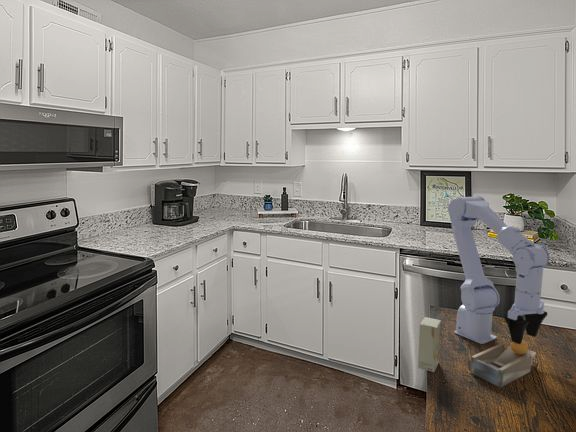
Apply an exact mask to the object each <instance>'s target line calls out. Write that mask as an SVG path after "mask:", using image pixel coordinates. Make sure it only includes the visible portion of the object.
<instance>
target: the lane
mask: <svg viewBox="0 0 576 432" xmlns="http://www.w3.org/2000/svg"><path fill="white" fill-rule="evenodd" d="M536 355H537V352H536V351H533V350H531V349H528V350H527V352H526V353H525V354H522V355H520V354H516V353H514V352H513V351H512V349H511V346H510V345H509V346H507V348H506V349H505V343H502V342H501V343H499V344H496V345H494V346H492V347H490V348H487V349H485V350H483V351H481V352H480V351H479V353H476V354H474V355H472V356H471V361H470V374H472V375H474V376H477V377H478V378H481V379H482V380H484V381H485V382H488V383H490V384H492V385H494V386H497V387H498V388H502V387H505V386H506V385H508V384H511V383H512V382H514V381H516V380H517V379H519V378H521V377H523V376H525V375H526V374H528V373H530V372H531V370H532V369H531V367H532V366H533V361H534V358H535V357H536Z"/></svg>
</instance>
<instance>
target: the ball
mask: <svg viewBox="0 0 576 432" xmlns="http://www.w3.org/2000/svg"><path fill="white" fill-rule="evenodd" d="M509 346H511V349H512V351H513V352H514V353H516V354H520V355H522V354H525V353H526V352H527V350H529V348H528V347H529V346H528V344H527V342H526V341H525V340H523V339H522V342H521V344H518V343H515V342H512V341H511V342H510V345H509Z"/></svg>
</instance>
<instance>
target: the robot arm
mask: <svg viewBox="0 0 576 432" xmlns="http://www.w3.org/2000/svg"><path fill="white" fill-rule="evenodd" d="M447 212H448V214H449V218H450V223H451V230H452V233H453V236H454V240H455V241H454V242H455V244H456V248H457V251H458V256H459V259H460V260H459V261H460V263H461V265H462V269H463V274H464V277H465V281H464V282H463V283H462V284H461V286H460V292H461V293H460V294H461V295H460V299H461V300H460V301H461V302H462V305H460V306H459V308H458V309H457V311H456V312H457V313H456V326H455V330H454V333H455V334H456V335H458V336H461V337H464V338H466V339H469V340H470V341H473V342H475V343H478V344H481V345H484V344H487V343H490V342H491V341H493V340H495V339H497V338H498V337H497V335H494V334H492V324H493V312H494V311H495V309H496V307H497V306H498V305H499V304H500V302H501V301H500V300H501V299H500V298H501V296H500V293H499V292H498V290H497V289H496V287H495V285H494V282H493V281H492V280H490V279H489V278H488V277H486V275H485V273H484V269H483V265H482V262H481V259H480V255H479V252H478V251H479V250H478V248H477V244H476V241H475V238H474V235H473V233H474V232H473V230H472V227H473V225H474V224H476V222H478V221H479V220H480V221H481V222H482V223H483V224H484V225H485V226H487V227H488V228H489V229H490V230H492V231H493V232H494V233H496V235H497V236H496V239H497V241H498V243H499V244H501V246H503V247H504V248H505V250H507V251H508V252H509V253H510V254H511V255H512V261H513V264H514V265H515V272H516V278H515V279H516V281H515V292H514V293H515V294H514V303H513V304H512V306H511V308H510V309H509V310H507V313H505V314H504V316H503V318H504V319H503V320H504V321H505V322H506V325H507V326H508V330H509V336H510V338H511V342H515V343H518V344H521V342H522V340H523V339H524V335H525V334H524V333H526V335H527V336H530V337H532V338H536V337H537V335H538V332H539V329H540V327H541V325H542V323H543V322H544V320H545V318H546V317H547V316H548V311H545V310H544V308H545V302H544V301H541V295H542V287H543V285H542V284H543V276H544V275H543V274H544V273H543V272H544V267H545V266H548V264H549V262H550V259H551V256H550V253H549V251H548V249H547V248H546V247H545V246H544V245H542V244H537V243H535V242H533V241H532V240H531V239H529V238H527V237H526V235H524V233H522V232H521V229H520V228H519V227H515V226H514V225H507V224H506V223H505V221H503V220H502V219H501V217H499V215H497V213H496V212H495V211H494V210H493V209H492V208H491V206H490V202H489V201H487V200H486V199H485V198H484V197H483V196H480V195H476V196H461V197H460V196H454V197H453V198H452V199H451V200H450V202H449V204H448V207H447ZM523 316H524V318H523Z"/></svg>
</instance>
